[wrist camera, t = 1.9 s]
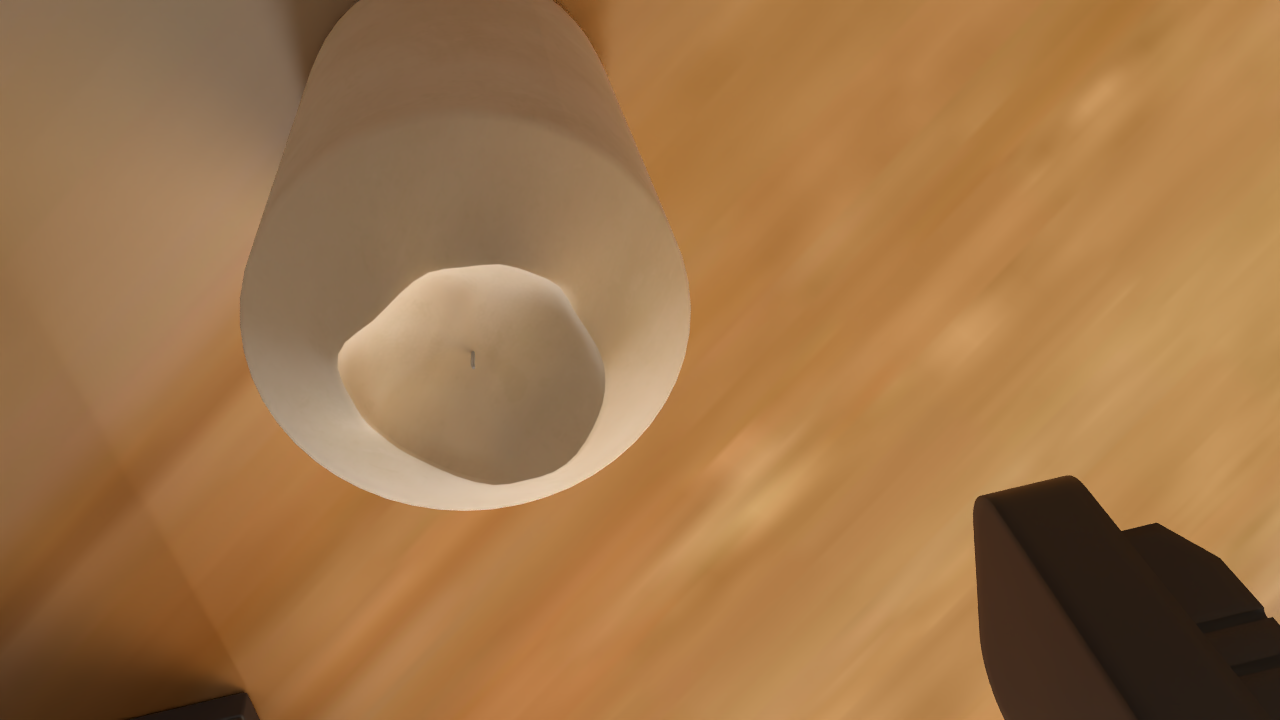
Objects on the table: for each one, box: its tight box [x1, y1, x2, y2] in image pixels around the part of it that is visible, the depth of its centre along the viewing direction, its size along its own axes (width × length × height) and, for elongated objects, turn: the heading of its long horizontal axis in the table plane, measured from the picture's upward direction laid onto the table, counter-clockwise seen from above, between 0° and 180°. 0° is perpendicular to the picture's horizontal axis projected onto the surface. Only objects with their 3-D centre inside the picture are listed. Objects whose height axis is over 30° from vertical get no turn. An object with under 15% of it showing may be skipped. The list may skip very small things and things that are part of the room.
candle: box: [240, 0, 691, 511], centre depth 18 cm, size 6×6×10 cm
